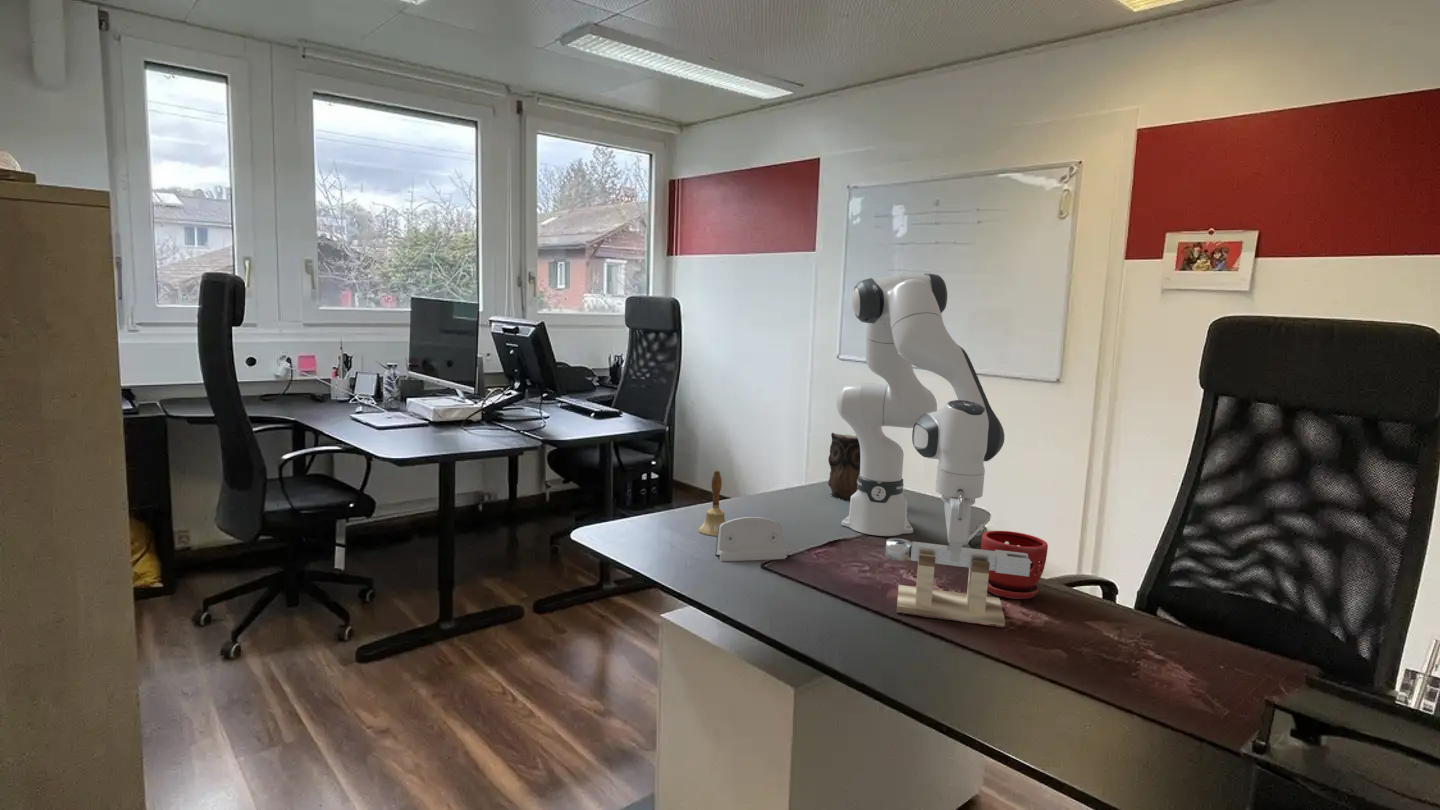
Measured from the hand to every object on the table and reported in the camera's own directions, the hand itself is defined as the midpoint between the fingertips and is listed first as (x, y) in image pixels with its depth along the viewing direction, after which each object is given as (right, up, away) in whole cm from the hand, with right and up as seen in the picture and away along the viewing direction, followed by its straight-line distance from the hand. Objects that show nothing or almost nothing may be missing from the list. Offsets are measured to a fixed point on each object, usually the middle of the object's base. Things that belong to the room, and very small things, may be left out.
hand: (953, 553), depth 153 cm
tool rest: (-1, -12, +2) cm, 12 cm away
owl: (-5, 0, +88) cm, 88 cm away
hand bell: (-48, -4, +46) cm, 66 cm away
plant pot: (+16, -11, +13) cm, 23 cm away
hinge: (-39, -6, +29) cm, 49 cm away
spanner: (0, -2, 0) cm, 2 cm away
